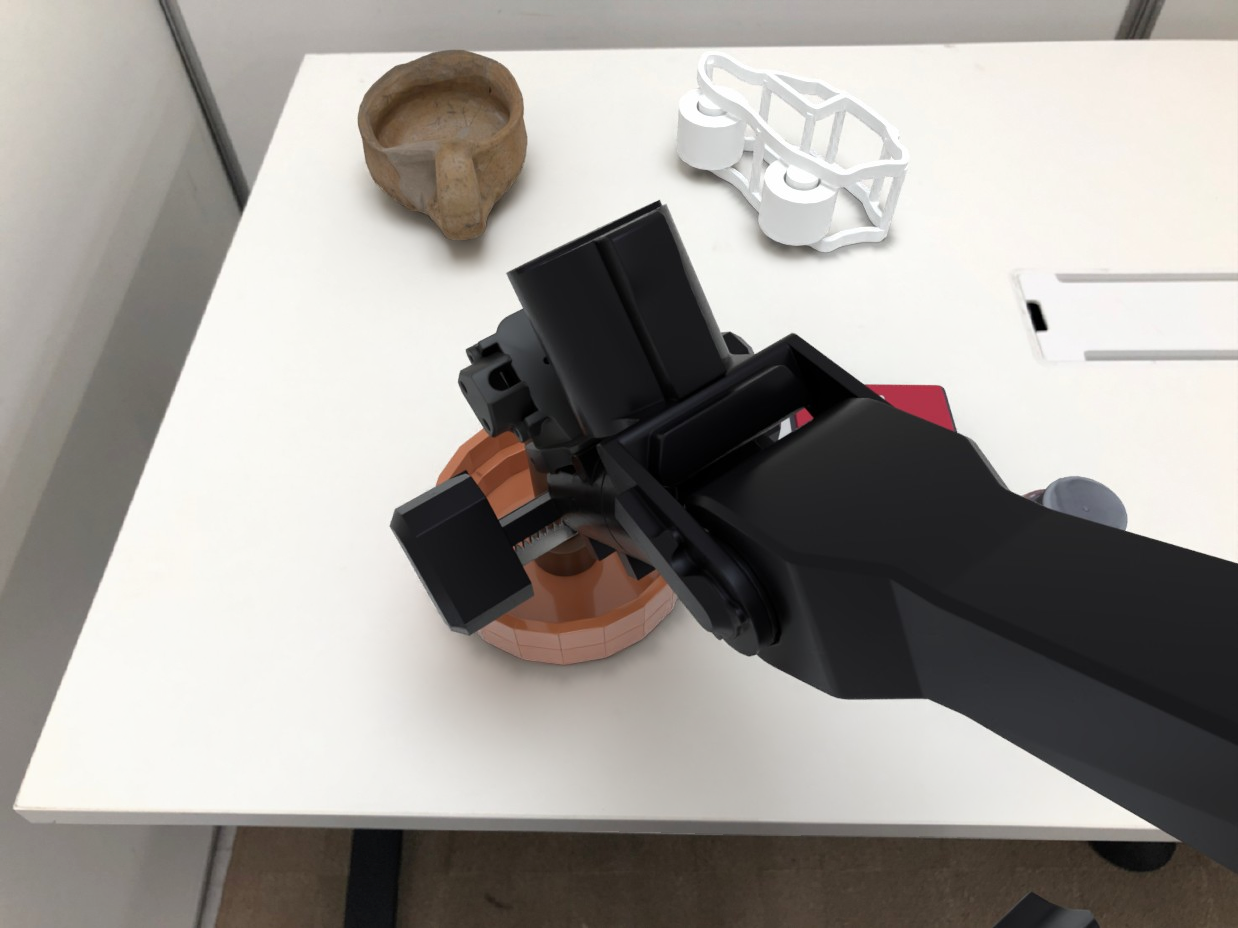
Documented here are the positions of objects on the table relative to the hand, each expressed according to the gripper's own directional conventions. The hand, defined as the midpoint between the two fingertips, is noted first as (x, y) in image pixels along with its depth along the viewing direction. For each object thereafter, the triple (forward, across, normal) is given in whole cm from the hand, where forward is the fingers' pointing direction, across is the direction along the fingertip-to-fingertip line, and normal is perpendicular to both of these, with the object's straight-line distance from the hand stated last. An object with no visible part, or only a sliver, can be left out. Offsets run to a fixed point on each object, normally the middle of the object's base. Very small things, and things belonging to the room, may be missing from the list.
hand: (543, 460), depth 48 cm
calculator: (+1, -17, +11) cm, 20 cm away
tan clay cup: (+29, -11, -17) cm, 35 cm away
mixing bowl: (+5, 0, +7) cm, 8 cm away
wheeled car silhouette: (+18, -33, -6) cm, 38 cm away
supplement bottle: (-8, -19, +20) cm, 29 cm away
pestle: (+4, 0, +6) cm, 8 cm away
